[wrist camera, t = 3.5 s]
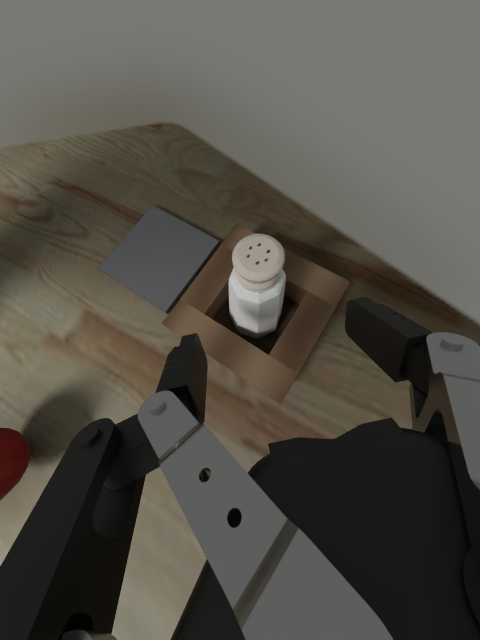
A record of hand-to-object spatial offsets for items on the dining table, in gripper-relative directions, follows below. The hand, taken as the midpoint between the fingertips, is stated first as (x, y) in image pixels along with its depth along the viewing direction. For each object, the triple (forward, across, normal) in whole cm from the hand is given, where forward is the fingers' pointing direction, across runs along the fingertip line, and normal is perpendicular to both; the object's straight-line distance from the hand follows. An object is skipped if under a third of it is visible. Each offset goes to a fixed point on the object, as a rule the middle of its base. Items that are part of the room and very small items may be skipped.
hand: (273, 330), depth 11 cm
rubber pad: (+16, +9, -2) cm, 19 cm away
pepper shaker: (+10, 0, +4) cm, 11 cm away
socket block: (+10, 0, +4) cm, 10 cm away
